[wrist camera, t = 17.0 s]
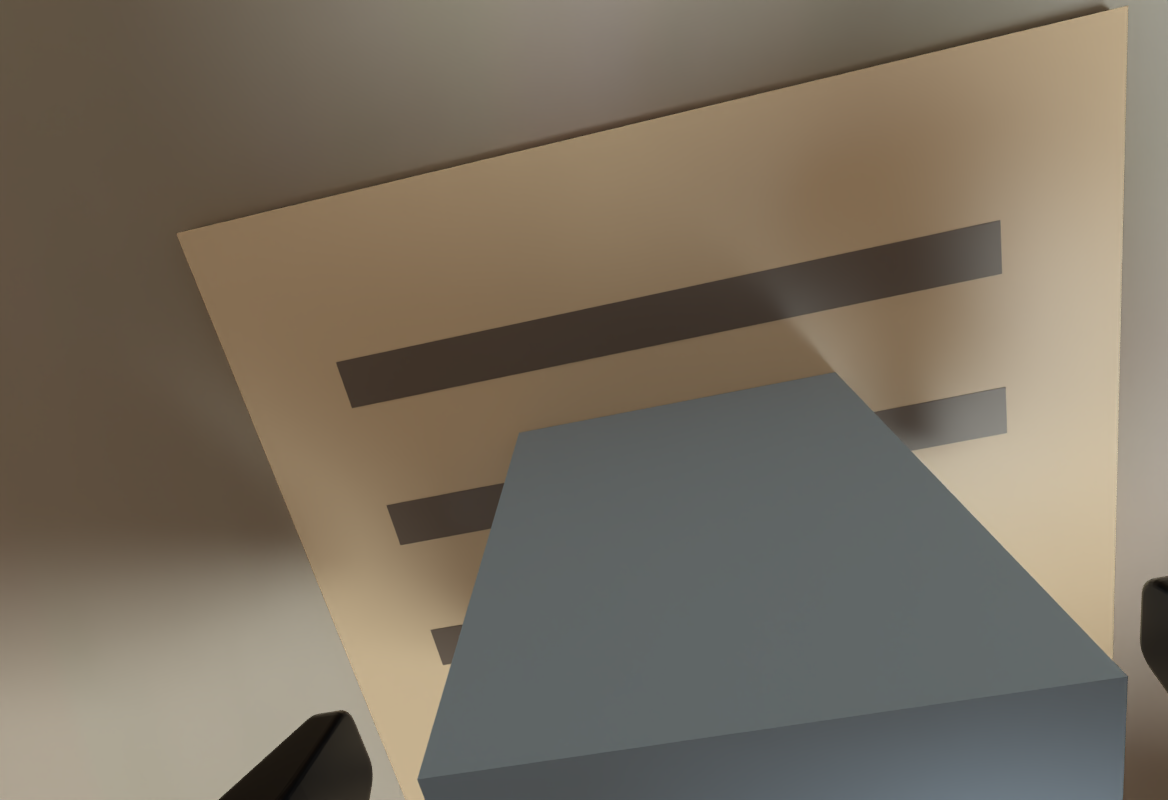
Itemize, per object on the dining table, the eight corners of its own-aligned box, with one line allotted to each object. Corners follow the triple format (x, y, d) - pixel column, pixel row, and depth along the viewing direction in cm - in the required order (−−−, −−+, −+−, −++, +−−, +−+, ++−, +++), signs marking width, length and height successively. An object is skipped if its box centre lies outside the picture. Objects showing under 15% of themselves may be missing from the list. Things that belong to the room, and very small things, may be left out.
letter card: (437, 860, 14) (435, 873, 14) (185, 230, 10) (175, 233, 10) (1100, 768, 13) (1110, 780, 12) (1113, 9, 9) (1127, 4, 8)
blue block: (585, 680, 12) (566, 1166, 6) (518, 432, 10) (417, 778, 5) (863, 637, 12) (1110, 1120, 6) (835, 372, 10) (1127, 676, 4)
